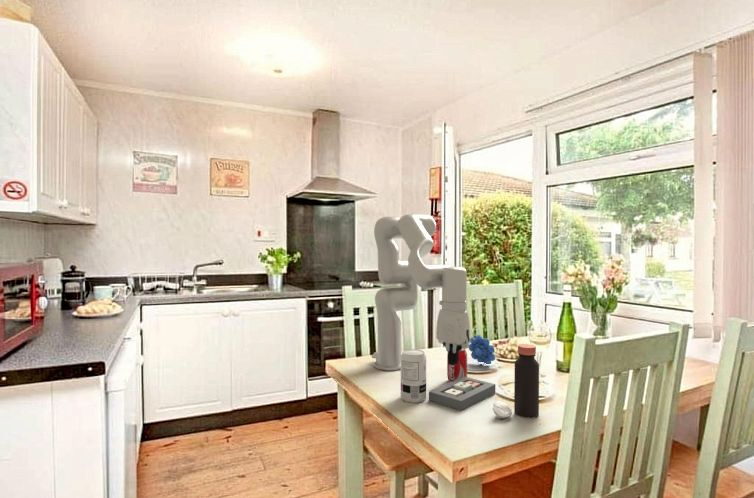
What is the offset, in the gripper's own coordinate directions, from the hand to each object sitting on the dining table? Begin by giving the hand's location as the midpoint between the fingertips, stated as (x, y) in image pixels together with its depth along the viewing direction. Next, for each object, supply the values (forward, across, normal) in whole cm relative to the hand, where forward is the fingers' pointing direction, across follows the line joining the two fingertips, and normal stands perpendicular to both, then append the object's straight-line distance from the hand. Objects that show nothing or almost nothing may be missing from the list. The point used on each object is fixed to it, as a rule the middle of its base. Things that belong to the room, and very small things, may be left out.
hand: (453, 364), depth 138 cm
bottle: (+12, +22, +6) cm, 25 cm away
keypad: (+12, +1, +5) cm, 13 cm away
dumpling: (+12, +18, -1) cm, 21 cm away
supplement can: (+12, -10, -7) cm, 17 cm away
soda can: (+12, -9, +17) cm, 23 cm away
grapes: (+12, -13, +40) cm, 44 cm away
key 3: (+11, +1, +10) cm, 15 cm away
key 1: (+11, +1, 0) cm, 11 cm away
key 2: (+10, +1, +5) cm, 11 cm away
